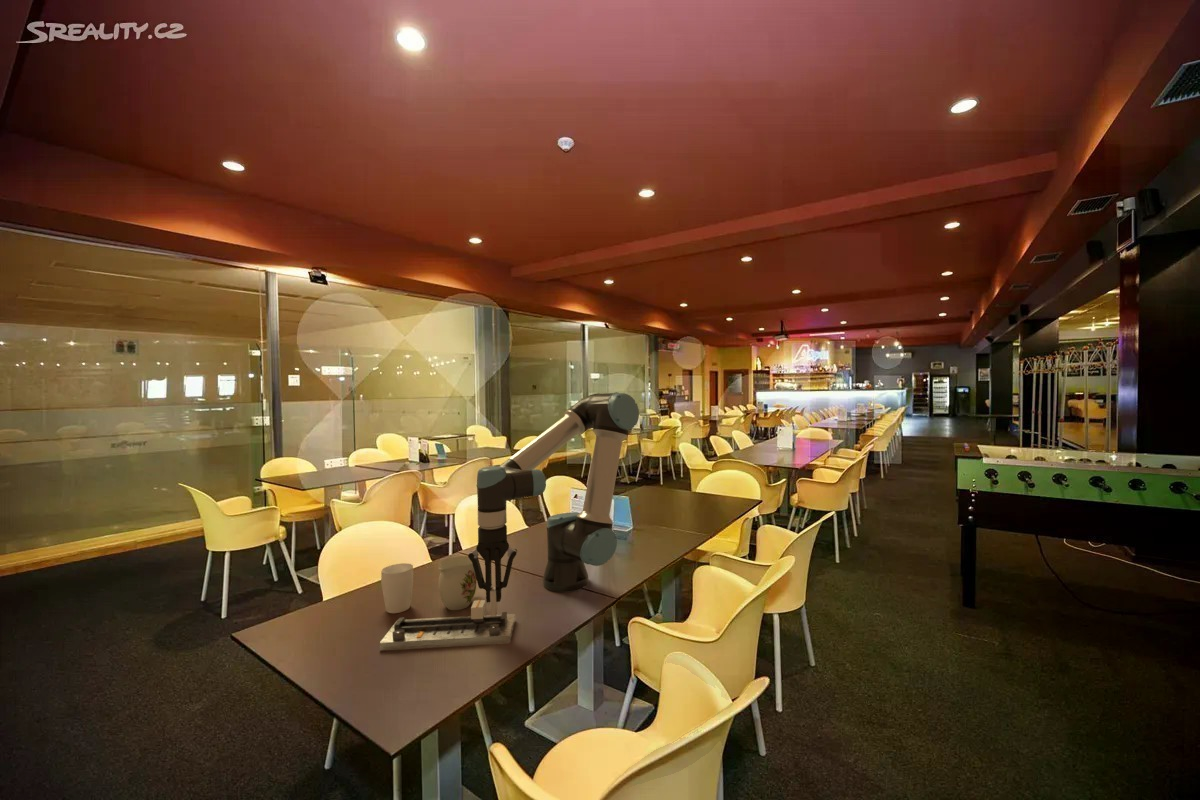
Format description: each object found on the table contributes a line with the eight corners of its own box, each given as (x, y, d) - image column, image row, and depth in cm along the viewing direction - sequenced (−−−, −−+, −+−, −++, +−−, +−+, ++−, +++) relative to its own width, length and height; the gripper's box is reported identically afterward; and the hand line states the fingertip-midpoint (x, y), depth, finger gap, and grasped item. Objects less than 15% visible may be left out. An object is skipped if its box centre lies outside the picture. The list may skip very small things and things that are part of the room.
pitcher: (492, 594, 149) (491, 551, 149) (457, 619, 132) (455, 571, 132) (463, 590, 152) (462, 548, 152) (425, 614, 135) (424, 567, 135)
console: (515, 620, 130) (514, 606, 130) (509, 643, 118) (509, 627, 118) (397, 627, 128) (397, 612, 128) (379, 650, 116) (379, 634, 116)
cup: (402, 616, 135) (401, 575, 135) (374, 614, 136) (373, 573, 136) (420, 603, 143) (419, 564, 143) (394, 601, 145) (393, 562, 145)
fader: (486, 619, 127) (485, 599, 127) (483, 627, 123) (482, 606, 123) (474, 619, 127) (474, 599, 127) (471, 628, 122) (470, 607, 122)
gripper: (518, 520, 129) (520, 606, 129) (470, 522, 128) (472, 608, 128) (515, 528, 122) (517, 618, 122) (464, 530, 121) (466, 621, 121)
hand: (494, 613), depth 125 cm, fingers closed
